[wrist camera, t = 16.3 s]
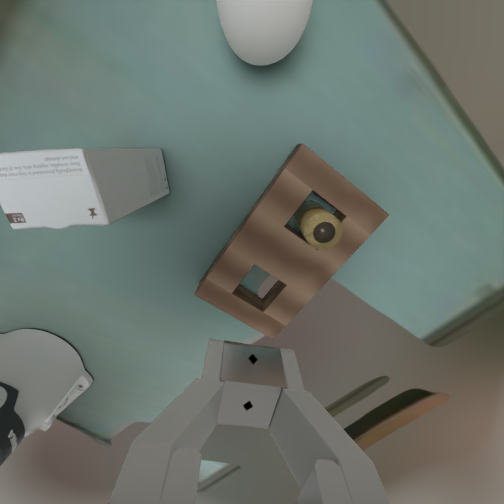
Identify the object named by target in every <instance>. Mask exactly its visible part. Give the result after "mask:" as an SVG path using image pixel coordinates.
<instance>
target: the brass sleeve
mask: <svg viewBox="0 0 504 504" xmlns="http://www.w3.org/2000/svg"><path fill="white" fill-rule="evenodd" d="M294 221H295V223H296V225H297V226H298V228H299V229H300V231H301V232H302V234H303V235H304V237H305V238H306V240H307V242H308V243H309V244H310V245H311V246H312V247H313V248H315V249H319V250H326V249H329V248H331V247H333V246H335V245H336V244H337V243H338V242H339V241H340V239H341V237H342V233H343V227H342V224H341V222H340V221H339V219H338V218H336V217H335V216H334V215H332V214H331V213H330V212H328V211H327V210H325V209H324V208H323V207H321V206H320V205H319V204H317V203H316V202H313V201H306V202H303V203H302V204H301V205H300V207H299V208H298V209H297V210H296V212H295V213H294Z"/></svg>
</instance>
